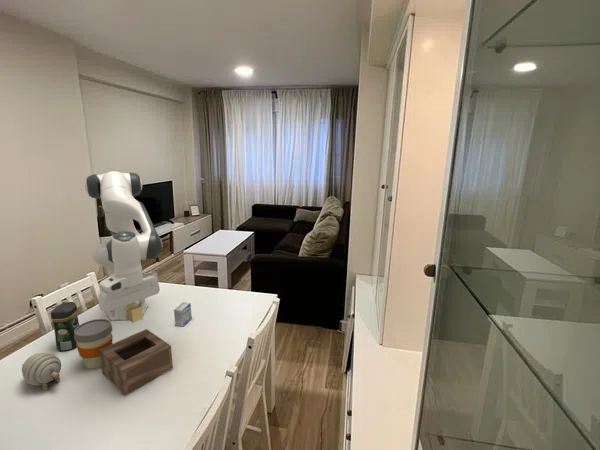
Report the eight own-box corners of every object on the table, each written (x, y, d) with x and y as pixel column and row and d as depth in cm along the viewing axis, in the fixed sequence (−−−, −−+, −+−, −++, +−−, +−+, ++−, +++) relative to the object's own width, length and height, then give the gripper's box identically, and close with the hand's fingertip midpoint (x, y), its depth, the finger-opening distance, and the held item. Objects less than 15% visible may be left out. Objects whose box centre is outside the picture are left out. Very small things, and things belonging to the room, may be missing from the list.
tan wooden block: (124, 317, 119) (123, 305, 117) (134, 313, 121) (133, 301, 120) (133, 323, 115) (131, 310, 114) (142, 319, 118) (141, 306, 117)
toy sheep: (44, 368, 123) (39, 342, 121) (77, 378, 119) (72, 352, 116) (13, 387, 114) (6, 359, 111) (47, 399, 109) (42, 371, 106)
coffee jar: (65, 339, 142) (58, 300, 137) (85, 337, 143) (79, 299, 138) (53, 352, 132) (45, 311, 128) (74, 351, 134) (67, 310, 129)
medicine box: (183, 327, 153) (182, 310, 151) (174, 325, 154) (173, 309, 152) (191, 318, 161) (191, 302, 159) (183, 317, 162) (182, 301, 159)
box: (102, 373, 122) (99, 349, 119) (148, 350, 136) (146, 328, 133) (125, 395, 111) (122, 370, 109) (172, 368, 125) (171, 345, 123)
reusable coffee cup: (76, 375, 120) (70, 339, 117) (80, 355, 131) (75, 322, 127) (115, 365, 126) (110, 331, 122) (116, 347, 137) (112, 315, 133)
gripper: (152, 267, 124) (155, 300, 128) (94, 284, 108) (99, 321, 112) (161, 271, 121) (164, 304, 124) (102, 289, 105) (107, 327, 108)
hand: (133, 312), depth 118 cm, fingers closed on tan wooden block, 3 cm apart
